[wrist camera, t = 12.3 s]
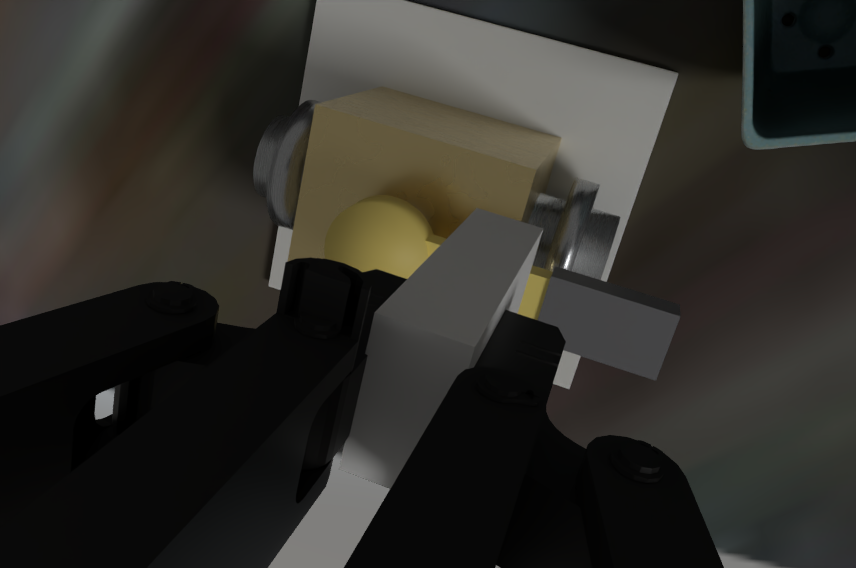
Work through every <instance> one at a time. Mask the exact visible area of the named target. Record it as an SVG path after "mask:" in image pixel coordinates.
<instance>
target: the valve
mask: <svg viewBox="0 0 856 568" xmlns="http://www.w3.org/2000/svg"><path fill="white" fill-rule="evenodd" d="M561 139H562V138H561V137H557V136H554V135H550V134H547V133H543V132H540V131H536V130H533V129H529V128H526V127H522V126H519V125H515V124H512V123H508V122H505V121H501V120H498V119H494V118H491V117H487V116H484V115H481V114H477V113H474V112H470V111H467V110H463V109H460V108H456V107H453V106H449V105H446V104H442V103H439V102H435V101H432V100H428V99H425V98H421V97H418V96H414V95H411V94H407V93H404V92H401V91H397V90H394V89H390V88H387V87H383V86H381V87H378V88H374V89H370V90H366V91H363V92H359V93H355V94H351V95H348V96H344V97H340V98H337V99H333V100H329V101H325V102H319V101H316V100H307V101H305V102H303V103H302V104H301V105H300V106H299V107H298V108H297V109H296V110H295V111H294V112H293V114H292V115H291V116H290V117H288V116H285V115H280V116H278V117H276V118H275V119H274V120H273V121H272V122H271V123H270V124H269V126H268V127H267V129H266V130H265V132H264V134H263V136H262V138H261V141H260V143H259V146H258V149H257V152H256V156H255V161H254V169H253V181H254V187H255V190H256V192H257V193H258V194H259V195H260V196H263V197H266V198H267V207H268V212H269V215H270V218H271V220H272V221H273V222H274V223H275V224H276V225H278V226H281V227H284V228H287V229H290V230H293V233H292V238H291V244H290V249H289V255H288V261H291V260H294V259H297V258H310V257H311V258H321V259H325V254H324V245H325V238H326V234H327V232H328V229H329V227H330V225H331V224H332V222H333V221H334V219H335V218H336V217H337V216H338V215H339V214H340V213H341V212H343V211H344V210H346V209H347V208H349V207H350V206H352V205H353V204H355V203H357V202H358V201H360V200H362V199H364V198H367V197H370V196H376V195H388V196H393V197H397V198H400V199H403V200H405V201H406V202H408V203H410V204H411V205H413V206H414V207H415V208H417V209H418V210H419V211H420V212H421V213H422V214H423V216H424V217H425V218H426V220H427V221H428V223H429V225H430V227H431V229H432V231H433V234H434V235H437V236H440V237H443V238H446V239H447V238H448V237H449V236H450V235H451V234H452V233H453V232H454V231H455V230H456V229H457V228H458V227H459V226H460V225H461V224H462V223H463V222H464V221H465V220H466V219H467V218H468V217H469V216H470V215H471V213H472V212H473V211H474V210H475V209H476V208H479V209H482V210H486V211H489V212H492V213H495V214H498V215H502V216H505V217H508V218H511V219H514V220H518V221H521V222H524V223H527V224H531V225H534V226H537V227H540V228H543V232H542V235H541V238H540V242H539V245H538V248H537V251H536V255H535V258H534V261H533V266H536V267H540V268H543V269H546V270H549V271H552V272H553V271H554V268H555V266H556V267H560V268H563V269H566V270H569V271H573V272H576V273H579V274H582V275H586V276H589V277H592V278H595V279H598V280H601V277H602V274H603V271H604V268H605V265H606V262H607V259H608V256H609V253H610V250H611V247H612V244H613V241H614V238H615V234H616V231H617V228H618V224H619V221H620V216H617V215H613V214H610V213H607V212H603V211H600V210H597V209H593V206H594V203H595V199H596V196H597V193H598V190H599V187H600V184H597V183H594V182H590V181H587V180H583V179H580V178H577V177H576V178H575V180H574V182H573V185H572V187H571V190H570V192H569V195H568V198H567V200H564V199H560V198H557V197H554V196H550V195H547V194H545V192H546V189H547V186H548V182H549V179H550V176H551V173H552V169H553V166H554V163H555V159H556V156H557V153H558V149H559V146H560V143H561ZM288 261H287V262H288Z"/></svg>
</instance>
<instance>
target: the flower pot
mask: <svg viewBox="0 0 856 568" xmlns="http://www.w3.org/2000/svg"><path fill="white" fill-rule="evenodd" d="M786 14H791V15H793V17H794V21H793V23H792V24H791V25H789V26H785V25H784V24H783V23H782V18H783V17H784V16H785V15H786ZM824 46H826V47H829V48H830V49H831V52H830V55H829V56H827V57H825V58H822V57H820V56H819V50H820V49H821V48H822V47H824ZM741 130H742V131H741V133H742V140H743V142H744V144H745V146H747V147H748V148H751V149H756V150H759V149H775V148H781V147H794V146H805V145H817V144H826V143H827V144H830V143H839V142H854V141H856V0H743V82H742V124H741Z"/></svg>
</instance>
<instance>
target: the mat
mask: <svg viewBox="0 0 856 568" xmlns="http://www.w3.org/2000/svg"><path fill="white" fill-rule="evenodd" d="M678 74H679V73H677V72H673V71H670V70H666V69H662V68H658V67H654V66H651V65H647V64H643V63H639V62H636V61H632V60H628V59H624V58H621V57H617V56H613V55H609V54H606V53H602V52H598V51H594V50H591V49H587V48H583V47H579V46H576V45H572V44H568V43H564V42H560V41H557V40H553V39H549V38H545V37H542V36H538V35H534V34H530V33H527V32H523V31H519V30H515V29H512V28H508V27H504V26H500V25H497V24H493V23H489V22H485V21H482V20H478V19H474V18H470V17H466V16H463V15H459V14H455V13H451V12H448V11H444V10H440V9H436V8H433V7H429V6H425V5H421V4H418V3H414V2H410V1H406V0H317V2H316V8H315V14H314V20H313V26H312V32H311V38H310V44H309V49H308V55H307V61H306V67H305V73H304V79H303V85H302V91H301V97H300V103H299V106H300V105H301V104H302V103H303V102H305V101H307V100H316V101H319V102H325V101H329V100H333V99H337V98H340V97H344V96H348V95H351V94H355V93H359V92H363V91H366V90H370V89H374V88H378V87H381V86H383V87H387V88H390V89H394V90H397V91H401V92H404V93H407V94H411V95H414V96H418V97H421V98H425V99H428V100H432V101H435V102H439V103H442V104H446V105H449V106H453V107H456V108H460V109H463V110H467V111H470V112H474V113H477V114H481V115H484V116H487V117H491V118H494V119H498V120H501V121H505V122H508V123H512V124H515V125H519V126H522V127H526V128H529V129H533V130H536V131H540V132H543V133H547V134H550V135H554V136H557V137H561V138H562V139H561V143H560V146H559V149H558V153H557V156H556V159H555V163H554V166H553V169H552V173H551V176H550V179H549V182H548V186H547V189H546V192H545V194H547V195H550V196H554V197H557V198H560V199H564V200H567V198H568V195H569V192H570V190H571V187H572V185H573V182H574V180H575V178H576V177H577V178H580V179H583V180H587V181H590V182H594V183H597V184H600V187H599V190H598V193H597V196H596V199H595V203H594V206H593V209H597V210H600V211H603V212H607V213H610V214H613V215H617V216H620V221H619V224H618V228H617V231H616V234H615V238H614V241H613V244H612V247H611V250H610V253H609V256H608V259H607V262H606V265H605V268H604V271H603V274H602V277H601V280H602V281H605V282H607V279H608V276H609V273H610V270H611V267H612V264H613V261H614V259H615V256H616V253H617V250H618V247H619V244H620V241H621V238H622V235H623V233H624V230H625V227H626V224H627V221H628V218H629V215H630V212H631V210H632V207H633V204H634V201H635V198H636V195H637V192H638V189H639V186H640V184H641V181H642V178H643V175H644V172H645V169H646V166H647V163H648V160H649V158H650V155H651V152H652V149H653V146H654V143H655V140H656V137H657V135H658V132H659V129H660V126H661V123H662V120H663V117H664V114H665V111H666V109H667V106H668V103H669V100H670V97H671V94H672V91H673V88H674V86H675V83H676V80H677V77H678ZM292 233H293V230H290V229H287V228H284V227H281V226H279V227H278V233H277V239H276V244H275V250H274V256H273V262H272V268H271V274H270V280H269V286H270V287H273V288H276V289H279V290H281V285H282V279H283V274H284V268H285V262H287V261H288V255H289V249H290V244H291V238H292ZM580 357H581V356H579V355H576V354H573V353H570V352H567V351H564V350H563V353H562V356H561V359H560V362H559V365H558V369H557V372H556V375H555V378H554V381H553V384H556V385H558V386H561V387H564V388H567V389H569V388H570V385H571V383H572V380H573V377H574V374H575V371H576V368H577V365H578V362H579V359H580Z"/></svg>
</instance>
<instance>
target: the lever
mask: <svg viewBox="0 0 856 568" xmlns="http://www.w3.org/2000/svg"><path fill="white" fill-rule="evenodd" d="M445 240H446V238H443V237H440V236H437V235H434V234H433V231H432V229H431V227H430V225H429V223H428V221H427V220H426V218H425V217H424V216H423V214H422V213H421V212H420V211H419V210H418V209H417V208H415V207H414V206H413V205H411V204H410V203H408V202H406V201H405V200H403V199H400V198H397V197H393V196H388V195H376V196H370V197H367V198H364V199H362V200H360V201H358V202H357V203H355V204H353V205H352V206H350V207H349V208H347V209H346V210H344V211H343V212H341V213H340V214H339V215H338V216H337V217H336V218H335V219H334V221H333V222H332V224H331V225H330V227H329V229H328V232H327V234H326V238H325V245H324V254H325V259H329V260H333V261H337V262H341V263H345V264H347V265H349V266H352V267H354V268H356V269H358V270H360V271H361V272H366V271H370V270H374V269H378V270H381V271H384V272H387V273H390V274H393V275H396V276H399V277H402V278H405V279H408V278H409V277H410V276H411V275H412V274H413V273H414V272H415V271H416V270H417V269H418V268H419V267H420V266H421V265H422V264H423V263H424V262H425V261H426V259H427V258H428V257H429V256H430V255H431V254H432V253H433V252H434V251H435V250H436V249H437V248H438V247H439V246H440V245H441V244H442V243H443V242H444V241H445ZM518 314H520V315H523V316H526V317H529V318H532V319H535V320H538V321H541V322H544V323H547V324H550V325H553V326H556V327H558V328H559V330H560V332H561V333H562V335H563V337H564V339H565V341H566V343H565V346H564V349H563V350H564V351H567V352H570V353H573V354H576V355H579V356H582V357H585V358H588V359H591V360H595V361H598V362H601V363H604V364H607V365H610V366H613V367H616V368H619V369H622V370H625V371H628V372H631V373H634V374H637V375H640V376H643V377H646V378H649V379H652V380H656V379H657V376H658V373H659V371H660V368H661V366H662V363H663V360H664V358H665V355H666V353H667V350H668V347H669V345H670V342H671V340H672V337H673V334H674V332H675V329H676V327H677V324H678V321H679V319H680V305H679V304H676V303H673V302H670V301H666V300H663V299H660V298H657V297H653V296H650V295H647V294H644V293H641V292H637V291H634V290H631V289H628V288H624V287H621V286H618V285H615V284H611V283H608V282H605V281H602V280H598V279H595V278H592V277H589V276H586V275H582V274H579V273H576V272H573V271H569V270H566V269H563V268H560V267H556V266H555V268H554V271H553V272H552V271H549V270H546V269H543V268H540V267H536V266H533V265H532V268H531V271H530V274H529V278H528V281H527V284H526V288H525V291H524V294H523V297H522V301H521V304H520V307H519V310H518Z"/></svg>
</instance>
